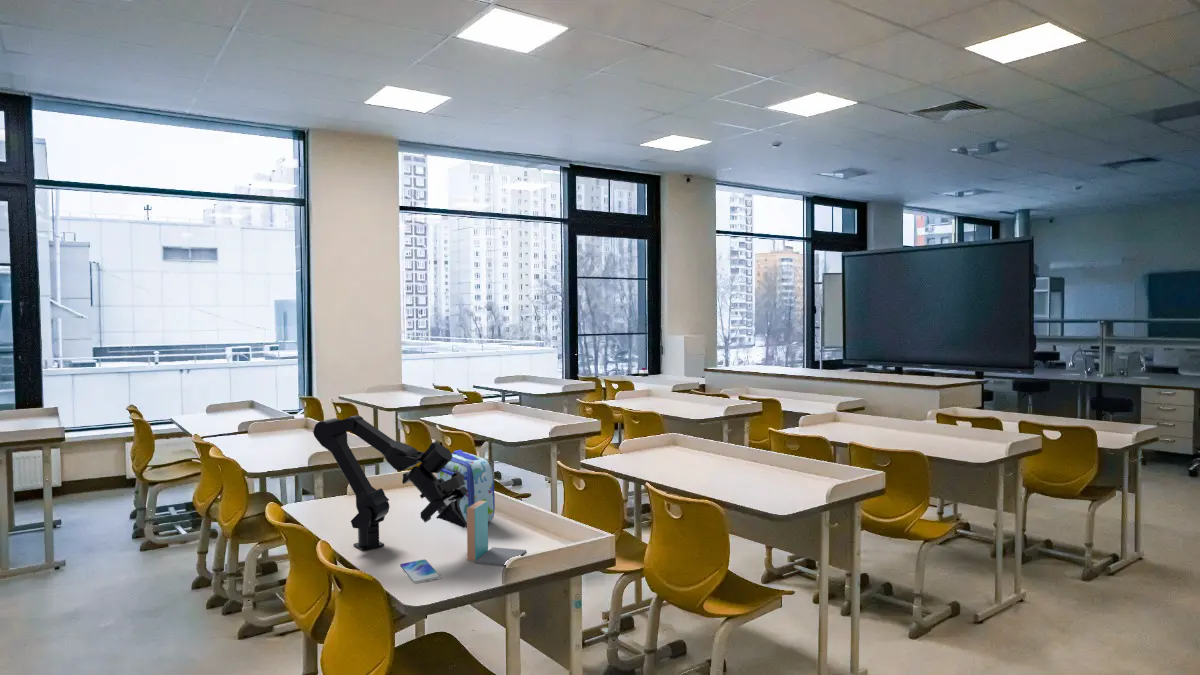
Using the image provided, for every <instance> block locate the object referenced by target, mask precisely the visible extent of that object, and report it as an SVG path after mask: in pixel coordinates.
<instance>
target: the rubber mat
mask: <svg viewBox="0 0 1200 675" xmlns="http://www.w3.org/2000/svg"><path fill="white" fill-rule="evenodd" d="M526 553H527V549H520V548H507V547H495V546H492V547H491V548H489V549H488V551H487V552H486V553H485V554H483V555H482V556H481V557H480V558H478V559H477V560H476V561H474V564H477V565H479V564H480V565H487V564H493V565H492V566H501V567H502V566H503V565H504V564H505V562H506V561H507V560H509V559H510V558H512V557H515V556H519V555H522V554H523V555H524V554H526ZM523 555H522V556H523ZM503 567H504V566H503Z"/></svg>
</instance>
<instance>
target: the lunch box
mask: <svg viewBox="0 0 1200 675" xmlns="http://www.w3.org/2000/svg"><path fill="white" fill-rule="evenodd" d="M451 454H452V459H451V460H450V461H449V462H448V463H447V464H446V465H445V467H444V468H443V469H442V470H441V471H440V472H439V473H436V478H437V479H440V478H441V479H443V480H444V481H447V480H449V479H451V475H452V474H453V473H456V472H458V471H459V472H460V473H461V474H462V475H463V476H465V479H464V482H465V485H463V486H464V487H465V488H466V489H467V490H468V493H467V494H466V495H465V496H464V497H463V498H462V499H461V500H460V509H461V512H462V514H463V516H464V519H465V521H466V523H467V508H468V507H470V506H471V505H473V504H474V503H476V502H478V501H488V522H491V521H492V520H493V519H494V517H495V508H496V505H495V501H496V500H495V481H494V475H493V470H492V468H491V464H490V463H489V462H488V460H487V459H485V458H483V457H481V456H478V455H475V454H473V453H469V452H465V451H463V450H462V449H458V450H453V453H451Z"/></svg>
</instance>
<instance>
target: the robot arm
mask: <svg viewBox="0 0 1200 675" xmlns="http://www.w3.org/2000/svg"><path fill="white" fill-rule="evenodd" d="M312 432H313V436H314V438H315V439H316V440H317V442H318V443H319V444H320V446H322V447H323V448H325V449H326V450H327V451H329V452H330V453H331V454H332V456H333V458H334V460H335V461H336V464H337V465H338V467H339V469H340V470H341V472H342V474H343V476H344V477H345V479H346V481H347V483H348V484H349V487H350V488H351V490H352V492H353V493H354V495H355V507H356V510H357V514H355V516H354V517H353V518H352V519H351V520H350V523H351V526H352V529H357V536H358V537H357V538H358V539H357V542H355V543H353V544H352V545H353V546H354V547H355V548H357V549H359V550H361V551H368V550H372V549H374V548H375V549H376V548H381V547H383V546H385V543H384V542H382V541H380V523H381V522H384V520H385V517H386V516H387V515H388V513H389V509H390V508H391V507H390V502H389V501H390V499H389V498H388V497H387V496H386V493H385V491H384V489H383V488H378V489H376V488H374V487H373V486H372V484H371V483H370V481H369V479H368V478H367V475H366V474H365V472H364V470H363V469H362V466H360V464H359V462H358V459H356V456H355V454H354V452H353V451H352V449H351V448H350V446H349V443H348V432H351V433H352V434H354V435H355V436H357V437H358V438H360V439H361V440H362V441H363V442H365V443H367V444H368V445H369V446H371V447H372V448H374V449H375V450H377V451H378V452H379V453H381V454H382V455H383V457H384V459H385V461H386V462H387V463H388V464H389V465H390V466H391V467H392V468H393V469H394V470H395V471H398V472H401V471H406V470H407V469H410V470H409V471H406V472H404V473H403V474H402V484H403V485H405V484H407V483H409V482H411V483H412V484H413V486H414V487H415V488H416V489H417V490H418V491H419V492H420V495H419V497H420V498H421V499H424V498H425V500H427V501H428V502H429V503H428V504H427V505H426V506H425V507H424V509H422V511H420V519H421V520H422V521H423V522H424V523H428V522H429V521H430V520H431V519H432V516H434V514H435V513H436V512H437V513H438V515H437V516H436V519H437V520H438V519H440V520H442V521H445V522H448V523H451V524H453V525H456V526H459V527H461V528H466V527H467V523H466V521H465V519H464V516H463V514H462V512H461V509H460V500H461V499H462V498H463V497H464V496H465V495H466V494H467V493H468V490H467V489H466V488H465V487H464V486H463V485H465V482H464V479H465V476H463V475H462V474H461V473H460V472H459V471H458V472H456V473H453V474H452V475H451V479H449V480H447V481H444V480H443V479H441V478H440V479H437V476H436V475H435V474H437V473H439V472H440V471H441V470H442V469H443V468H444V467H445V465H446V464H447V463H448V462H449V461H450V460H451V459H452V454H453V453H452V452H451V450H450V449H449V448H448V447H446V446H444V445H442V444H439V443H438V442H437V441H435V442H431V443H430V445H429V447H428V448H427V449H426V450H425V451H419V450H418V449H417V448H415V447H413V446H411V445H409V444H407V443H404V442H401V441H398V440H394V439H393V438H391V437H390V436H388V435H387V434H386V433H384V432H383V431H381V430H379V429H378V428H377V427H375V426H374V425H372V424H371V423H369V422H368V421H366V420H365V418H363V416H360V415H357V414H356V415H353V416H348V417H346V418H344V419H340V418H335V417H334V418H329V419H324V420H320V421H318V422H316V424H315V426H314V428H313V431H312ZM419 463H420V464H419ZM417 464H419V465H417ZM434 473H435V474H434Z"/></svg>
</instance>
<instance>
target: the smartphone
mask: <svg viewBox="0 0 1200 675" xmlns="http://www.w3.org/2000/svg"><path fill="white" fill-rule="evenodd" d="M399 566H400V567H401V568H402V569H403V570H402V569H401V568H400V567H399ZM398 567H399V568H400V569H401V570H402V572H403V571H404V572H405V573H406V574H407V576H408V577H409V578H410V579H411V581H412V582H413V583H416V584H419V583H418V582H422V583H425V582H431V581H437V580H440V579H442V576H441V575H440V573H439V572H438V571H437V570H436V569H435V568H434V567H433V565H432V564H430V563H429V562H428V560H427V559H419V560H414V561H408V562H405V563H404V562H403V563H399V565H398ZM404 572H403V573H404ZM405 573H404V574H405ZM406 574H405V575H406ZM407 576H406V577H407ZM408 577H407V578H408ZM409 578H408V579H409ZM410 579H409V580H410ZM411 581H410V582H411ZM412 582H411V583H412ZM413 583H412V584H413Z"/></svg>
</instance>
